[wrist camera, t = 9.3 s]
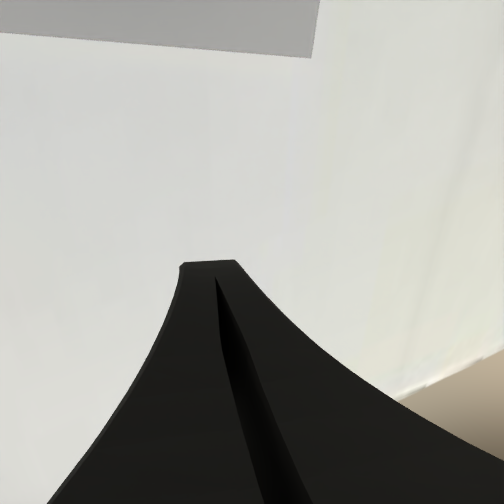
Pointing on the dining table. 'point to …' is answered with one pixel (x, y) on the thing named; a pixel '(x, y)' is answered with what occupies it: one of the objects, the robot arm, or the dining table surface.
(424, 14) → the dining table surface
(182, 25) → the octagonal ring on plate
